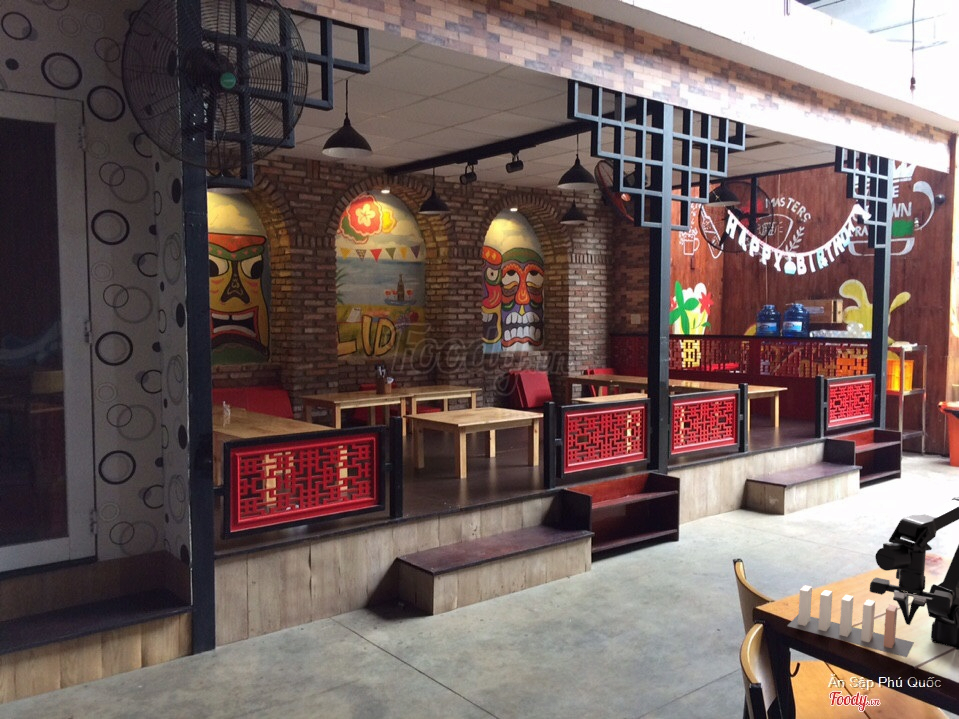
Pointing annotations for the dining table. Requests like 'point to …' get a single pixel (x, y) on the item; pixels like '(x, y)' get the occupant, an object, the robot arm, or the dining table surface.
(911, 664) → the dining table surface
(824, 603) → the ivory domino
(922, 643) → the dining table surface
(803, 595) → the ivory domino
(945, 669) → the dining table surface
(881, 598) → the dining table surface
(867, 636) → the ivory domino
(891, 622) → the terracotta domino
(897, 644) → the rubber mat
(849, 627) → the ivory domino
